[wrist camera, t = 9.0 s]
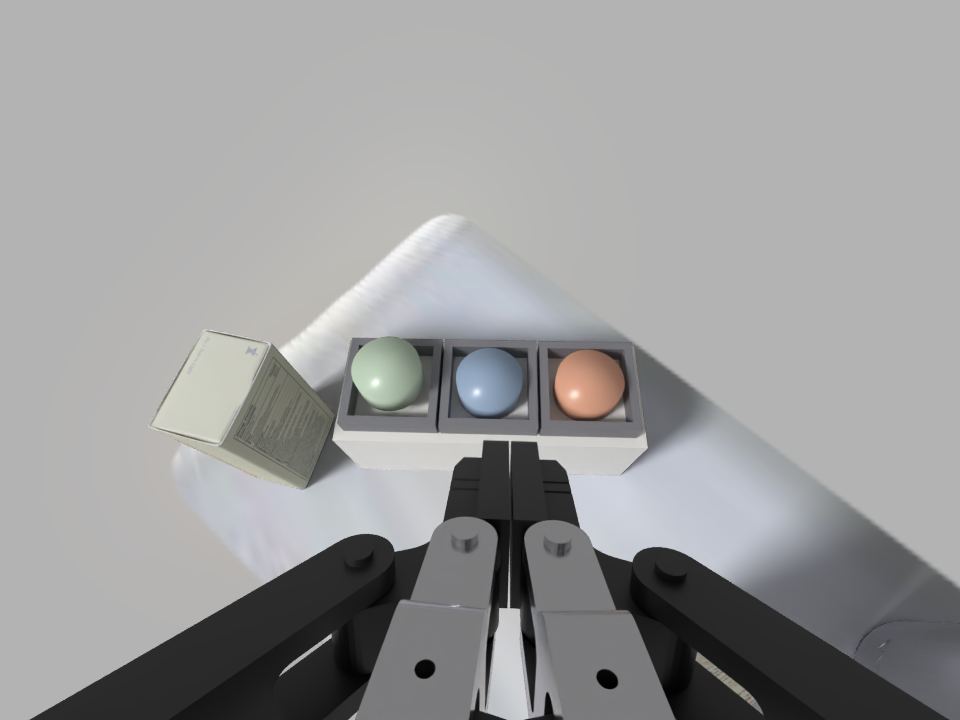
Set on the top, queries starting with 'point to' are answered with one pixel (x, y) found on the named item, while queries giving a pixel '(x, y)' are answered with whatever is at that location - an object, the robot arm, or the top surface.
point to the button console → (456, 434)
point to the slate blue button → (489, 383)
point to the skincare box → (246, 409)
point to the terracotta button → (588, 385)
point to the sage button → (388, 373)
